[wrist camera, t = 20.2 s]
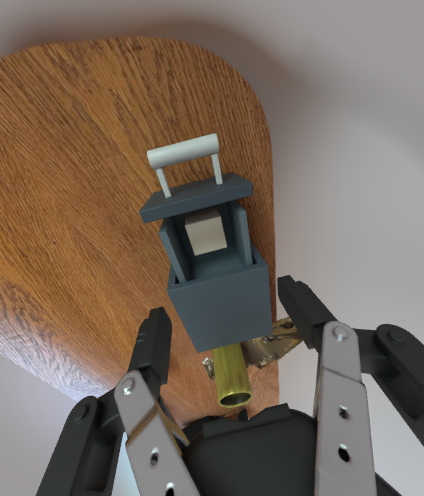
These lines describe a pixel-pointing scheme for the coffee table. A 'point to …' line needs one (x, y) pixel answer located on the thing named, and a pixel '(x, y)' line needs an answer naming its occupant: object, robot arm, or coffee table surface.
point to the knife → (227, 415)
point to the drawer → (197, 198)
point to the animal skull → (266, 346)
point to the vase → (231, 376)
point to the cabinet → (224, 305)
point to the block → (205, 230)
